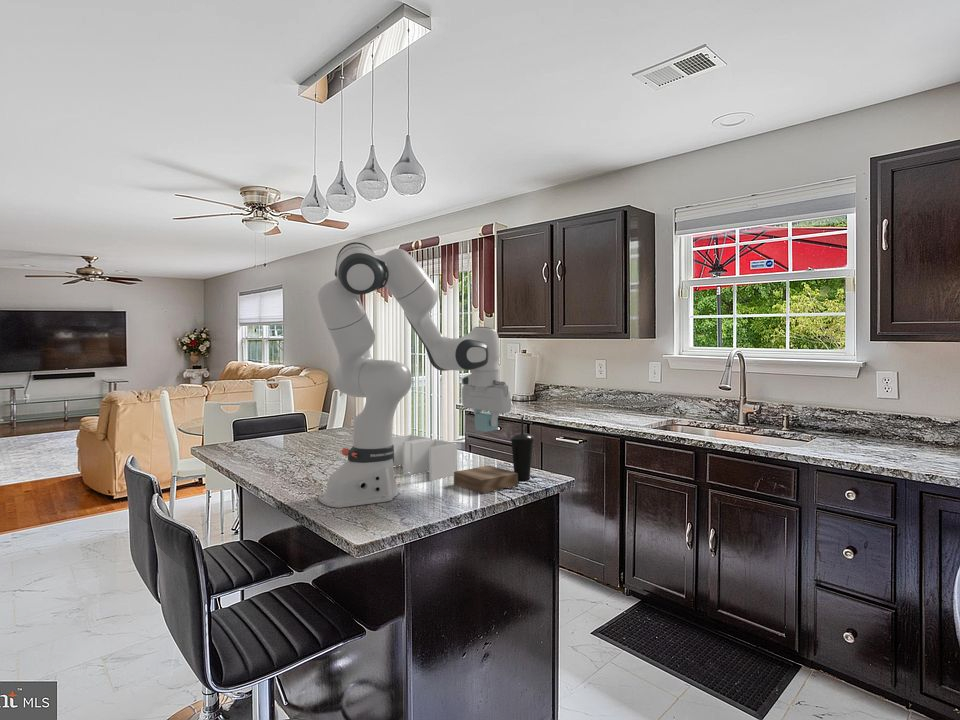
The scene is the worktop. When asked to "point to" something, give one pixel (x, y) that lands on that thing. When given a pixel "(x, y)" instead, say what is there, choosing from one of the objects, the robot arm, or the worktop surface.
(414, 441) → the storage container
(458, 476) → the walnut base
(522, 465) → the drinking cup
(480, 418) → the teal cube
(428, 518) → the worktop surface
